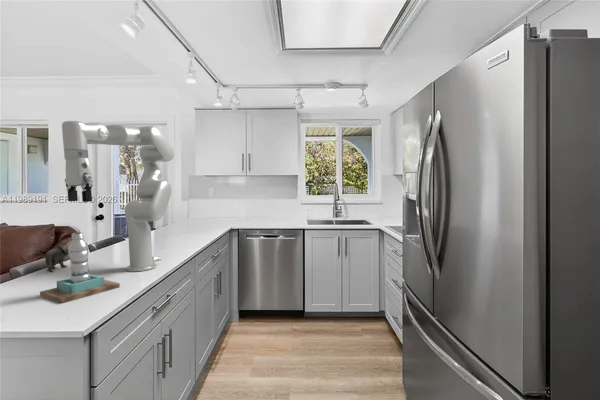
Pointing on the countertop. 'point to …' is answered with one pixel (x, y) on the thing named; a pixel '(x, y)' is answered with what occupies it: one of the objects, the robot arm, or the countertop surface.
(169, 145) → the robot arm
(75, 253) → the silver aluminum bottle
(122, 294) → the countertop surface
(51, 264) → the dinosaur figurine
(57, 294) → the walnut jig board
